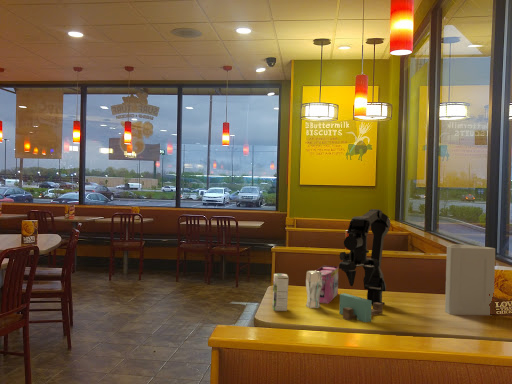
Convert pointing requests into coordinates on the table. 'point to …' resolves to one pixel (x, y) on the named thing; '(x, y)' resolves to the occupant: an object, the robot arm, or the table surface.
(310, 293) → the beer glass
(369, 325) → the table surface
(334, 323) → the table surface
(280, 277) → the syrup box
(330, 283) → the gum box
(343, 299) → the teal plate
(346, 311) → the walnut rail
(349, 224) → the robot arm
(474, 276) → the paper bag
